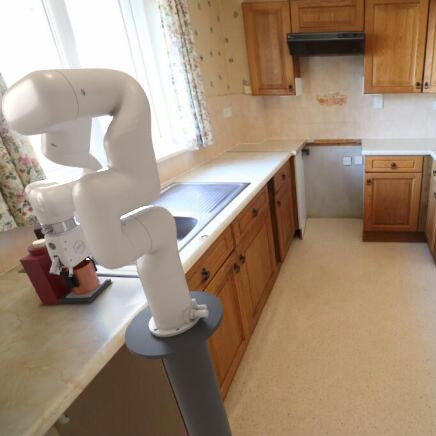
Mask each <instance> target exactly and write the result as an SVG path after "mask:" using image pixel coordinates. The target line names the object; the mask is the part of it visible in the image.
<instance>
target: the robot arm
mask: <svg viewBox="0 0 436 436" xmlns="http://www.w3.org/2000/svg"><path fill="white" fill-rule="evenodd" d="M150 104H151V103H150V101H149V99H148V96H147V94H146V92H145V90H144V88H143V87H142V85H141V84H140V82H139V81H138V80H137V79H136V78H135V77H133V76H132V75H130V74H128V73H127V72H124V71H122V70H118V69H112V68H103V67H102V68H99V67H98V68H97V67H95V68H93V67H92V68H91V67H89V68H88V67H87V68H54V69H51V68H49V69H38V70H34V71H30V72H29V73H26V75H24V76H23V77H21V78H20V79H19V80H17V81H16V82H14V83H13V84H11V86H8V88H7V89H6V90H5V91H4V93H3V95H2V98H1V113H2V116H3V118H4V121H5V123H7V125H8V127H10V128H11V130H13V131H14V132H16V134H19V135H21V136H36V135H41V136H40V138H41V139H40V141H41V142H40V143H41V147H40V148H41V149H40V150H41V153H42V155H43V156H44V157H45V159H47V160H49V161H50V162H52V163H54V164H56V165H60V166H65V167H70V168H71V167H72V168H78V169H82V175H81V176H80V177H76V178H72V179H69V180H66V181H62V182H61V181H59V180H58V179H52V178H50V179H41V180H36V181H33V182H31V183H29V184H27V185H26V186H25V187H24V192H25V195H26V197H27V199H28V201H29V203H30V206H31V207H32V210H33V211H34V214H35V216H36V218H37V220H38V223H40V225H41V227H42V229H43V230H42V231H41V232H42V233H43V234H45V236H44V237H45V242H46V246H47V250H48V253H49V255H50V258H51V260H52V262H53V263H52V266H51V269H50V274H53V275H56V276H60V277H63V278H64V280H65V282H66V284H67V286H68V287H69V288H73V287H79V286H80V284H79V282H78V279H77V277H76V275H73V267H74V266H76V265H77V264H79V263H80V262H81V261H83V260H84V259H91V261H92V264H93V266H94V269H95V271H96V273H97V272H98V271H99V270H98V268H97V265H96V263H97V264H98V265H99V266H101V267H102V268H104V269H105V270H106V269H107V270H118V269H123V268H124V267H126V266H128V265H130V264H132V263H134V262H136V273H137V275H138V278H139V281H140V284H141V287H142V290H143V292H144V295H145V299H146V302H147V305H148V306H149V307H150V310H151V313H152V317H151V319H150V321H149V329H150V331H151V333H152V334H153V335H155V336H159V337H171V336H175V335H178V334H181V333H183V332H185V331H187V330H188V329H190V328H191V327H193V326H194V325H195V324H196V323H197V322H198V320H199V319H200V318H207V317H208V314H209V312H208V310H206V309H207V305H198V304H197V303H196V299H191V296H190V293H189V291H190V289H189V286H188V283H187V279H186V275H185V274H186V273H185V272H184V267H183V263H182V260H181V256H180V252H179V246H178V233H177V232H178V231H177V223H176V220H175V217H174V215H173V214H172V212H171V211H170V210H168V208H166V207H164V206H161V205H158V204H157V205H156V204H151V203H153V202H155V201H156V200H157V199H159V198H160V196H161V192H162V188H161V187H162V185H161V180H160V174H159V169H158V164H157V158H156V153H155V148H154V143H153V135H152V111H151V105H150ZM105 116H109V117H110V120H109V122H108V124H107V125H106V128H105V131H104V135H103V142H102V143H103V150H104V153H105V156H106V161H107V163H106V164H107V165H106V167H103V165H102V164H101V162H100V161H99V160H98V159H97V158H96V157H95V156H94V155H93V154H92V153H90V151H91V150H90V149H91V138H92V137H91V136H92V126H93V118H99V117H105ZM149 204H151V205H149ZM74 212H76V215H77V218H78V220H77V218H76V215H75V213H74ZM78 221H79V222H78ZM59 267H60V270H59ZM65 268H68V272H65Z"/></svg>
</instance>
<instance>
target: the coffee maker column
mask: <svg viewBox="0 0 436 436" xmlns="http://www.w3.org/2000/svg"><path fill="white" fill-rule="evenodd" d="M26 250H27V253H28V254H27V255H25V256H24V257H22V258H20V259H19V262H20V264H21V266H22V268H23V269H24V271H25V273H26V276H27V277H28V279H29V281H30V283H31V285H32V287H33V289H34V291H35V293H36V295H37V296H38V298H39V300H40V303H41V304H42V305H43V306H45V305H60V304H59V302H58V300H59V299H60V298H61V297H62V296H63V295H64V294H66V293H67V292H68V291H69V290H70V289H71V288H69V287H68V286H67V284H66V282H65V280H64V278H63V277H60V276H56V275H53V274H50V269H51V266H52V263H53V262H52V260H51V258H50V255H49V253H48V250H47V246H43V247H40V248H34V246H33V244H30V245H29V246H27V248H26ZM59 270H60V267H59Z"/></svg>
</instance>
